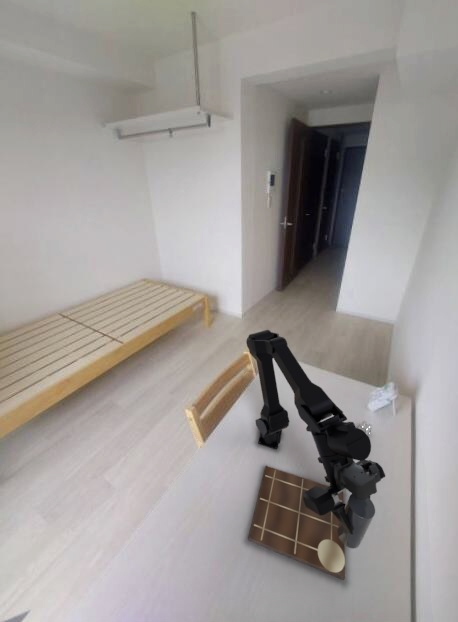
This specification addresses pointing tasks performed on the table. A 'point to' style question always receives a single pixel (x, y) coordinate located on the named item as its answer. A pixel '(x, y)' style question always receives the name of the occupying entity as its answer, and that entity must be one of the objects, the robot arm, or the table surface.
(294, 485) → the board
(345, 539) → the dark grey cylinder
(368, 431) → the metal grooved wheel
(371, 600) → the table surface
